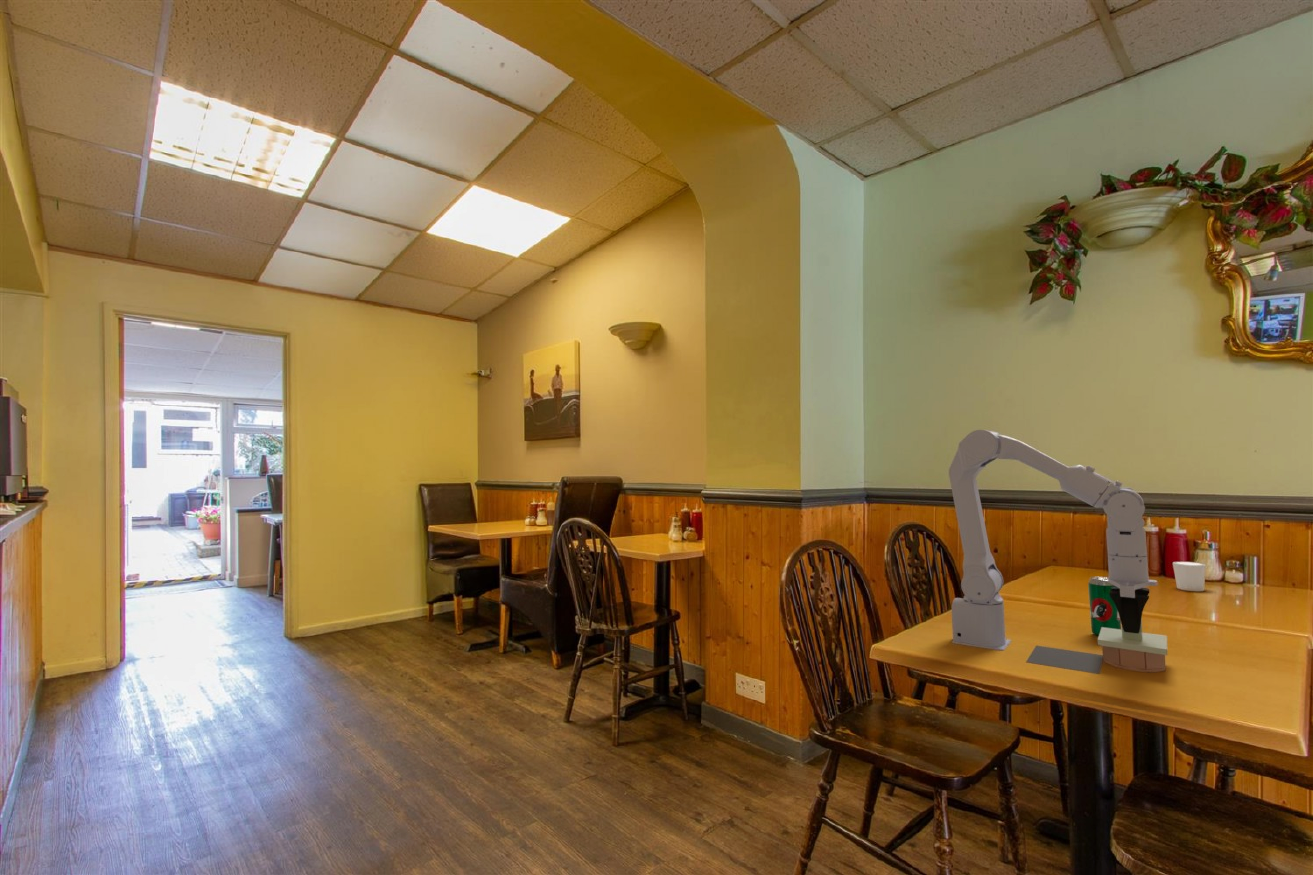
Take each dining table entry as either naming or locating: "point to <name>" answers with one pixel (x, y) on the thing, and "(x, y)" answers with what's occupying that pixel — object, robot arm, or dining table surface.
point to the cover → (1133, 640)
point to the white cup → (1189, 575)
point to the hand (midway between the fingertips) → (1131, 629)
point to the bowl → (1134, 659)
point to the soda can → (1102, 605)
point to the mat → (1066, 659)
